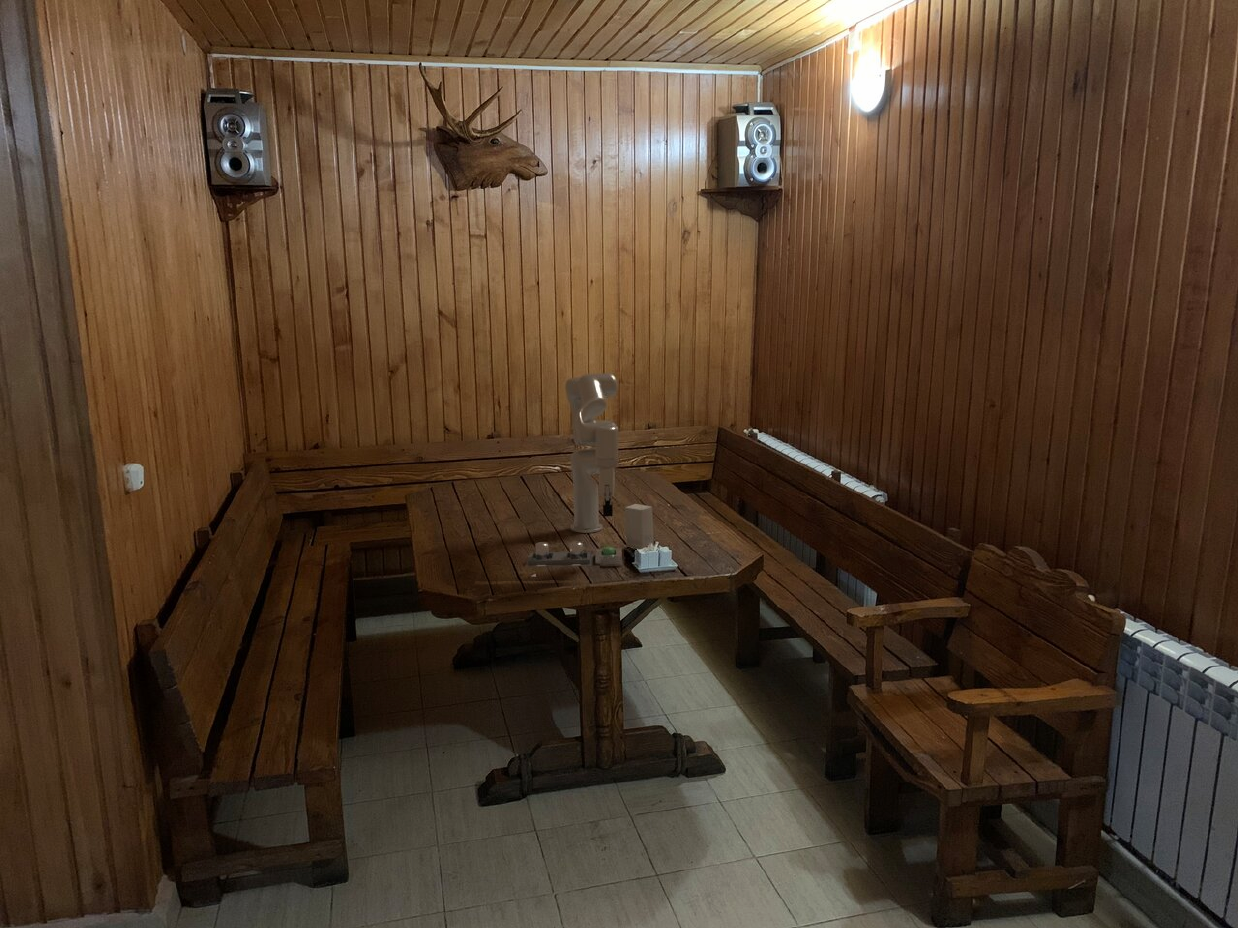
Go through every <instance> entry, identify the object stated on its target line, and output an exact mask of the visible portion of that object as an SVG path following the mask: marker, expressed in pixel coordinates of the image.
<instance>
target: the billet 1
mask: <svg viewBox="0 0 1238 928" xmlns="http://www.w3.org/2000/svg"><path fill="white" fill-rule="evenodd" d="M534 546H535V553H536V560H543V559H549V552H550V549H549V548H550V547H549V542H545V541H539V542H536V543H535V545H534Z"/></svg>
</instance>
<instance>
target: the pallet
mask: <svg viewBox="0 0 1238 928" xmlns="http://www.w3.org/2000/svg"><path fill="white" fill-rule="evenodd" d="M583 556H584V559H571V557H570V551H552V552H550V551H549V559H543V560H536V552H530V554H528V555H527V558H526V562H525V565H524V567H525V568H534V567H536V568H537V567H538V568H540V567H542V568H543V567H546V568H548V567H550V568H551V567H592V566H594V565H593V564H594V563H593V562H594V553H591V551H583Z"/></svg>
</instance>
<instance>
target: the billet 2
mask: <svg viewBox="0 0 1238 928" xmlns="http://www.w3.org/2000/svg"><path fill="white" fill-rule="evenodd" d="M569 552H570V557H571V559H584V556H583V552H584V542H583V541H579V540H574V541H570V542H569Z"/></svg>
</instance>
